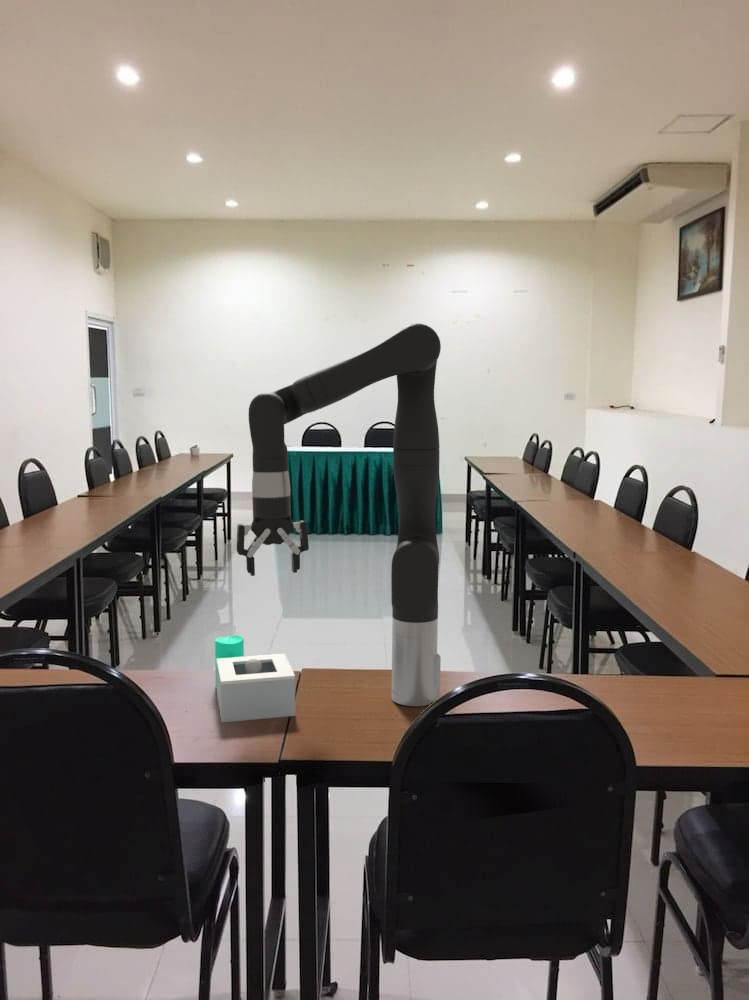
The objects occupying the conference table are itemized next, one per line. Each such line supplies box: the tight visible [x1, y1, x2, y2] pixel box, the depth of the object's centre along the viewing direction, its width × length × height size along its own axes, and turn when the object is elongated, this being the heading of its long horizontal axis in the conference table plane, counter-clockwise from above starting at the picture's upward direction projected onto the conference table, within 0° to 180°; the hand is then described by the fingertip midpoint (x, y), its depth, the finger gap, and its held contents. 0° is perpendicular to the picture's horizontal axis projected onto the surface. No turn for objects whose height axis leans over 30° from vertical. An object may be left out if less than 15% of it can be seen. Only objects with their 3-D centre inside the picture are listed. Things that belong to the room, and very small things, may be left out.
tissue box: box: [216, 653, 296, 723], centre depth 154 cm, size 14×14×8 cm
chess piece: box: [245, 659, 262, 674], centre depth 154 cm, size 5×5×9 cm
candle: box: [214, 631, 245, 689], centre depth 164 cm, size 6×6×12 cm
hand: (273, 573), depth 157 cm, fingers open, 8 cm apart
